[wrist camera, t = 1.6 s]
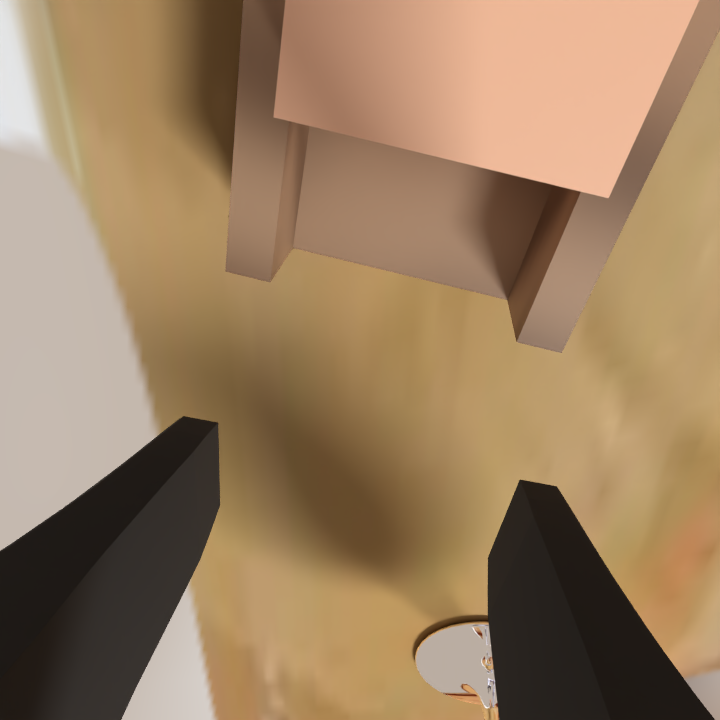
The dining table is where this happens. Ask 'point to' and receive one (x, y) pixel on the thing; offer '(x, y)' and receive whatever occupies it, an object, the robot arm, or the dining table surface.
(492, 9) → the block
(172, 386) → the dining table surface
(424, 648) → the wineglass
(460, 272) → the shallow wooden tray
